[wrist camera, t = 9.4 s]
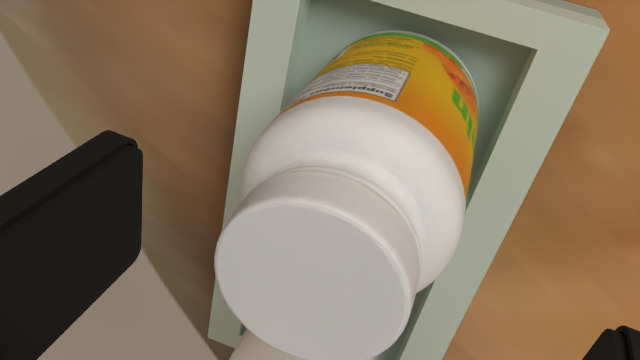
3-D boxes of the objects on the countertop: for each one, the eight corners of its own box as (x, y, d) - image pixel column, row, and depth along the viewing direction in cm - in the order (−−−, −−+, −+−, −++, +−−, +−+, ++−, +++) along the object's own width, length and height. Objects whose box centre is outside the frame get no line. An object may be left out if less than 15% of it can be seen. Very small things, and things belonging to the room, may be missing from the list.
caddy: (290, -76, 18) (262, -69, 16) (598, 10, 16) (610, 30, 14) (229, 303, 28) (207, 337, 26) (418, 377, 26) (410, 419, 24)
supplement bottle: (480, 178, 19) (455, 411, 11) (331, 175, 20) (213, 373, 12) (480, 19, 16) (448, 167, 8) (311, 31, 18) (147, 162, 10)
